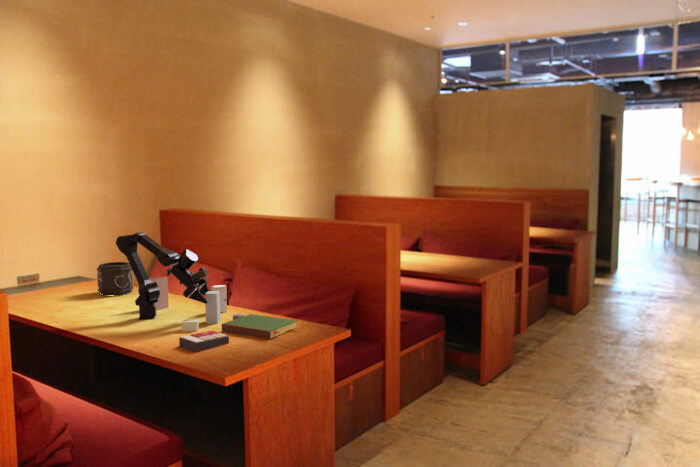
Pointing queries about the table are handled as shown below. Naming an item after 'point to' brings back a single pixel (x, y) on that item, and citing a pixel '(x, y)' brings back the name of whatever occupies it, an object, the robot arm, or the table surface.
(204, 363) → the table surface
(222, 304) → the skincare box
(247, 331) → the hardcover book
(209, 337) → the calculator
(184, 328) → the cream block
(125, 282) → the dark decorated pot
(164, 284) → the greeting card
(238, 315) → the grey rounded dome
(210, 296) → the light grey block
